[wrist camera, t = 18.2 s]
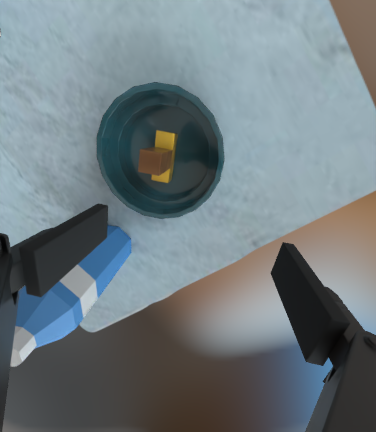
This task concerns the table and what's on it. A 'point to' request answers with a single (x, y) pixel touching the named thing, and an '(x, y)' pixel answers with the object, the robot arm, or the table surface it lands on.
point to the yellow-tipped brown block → (159, 157)
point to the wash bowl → (145, 138)
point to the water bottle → (68, 297)
